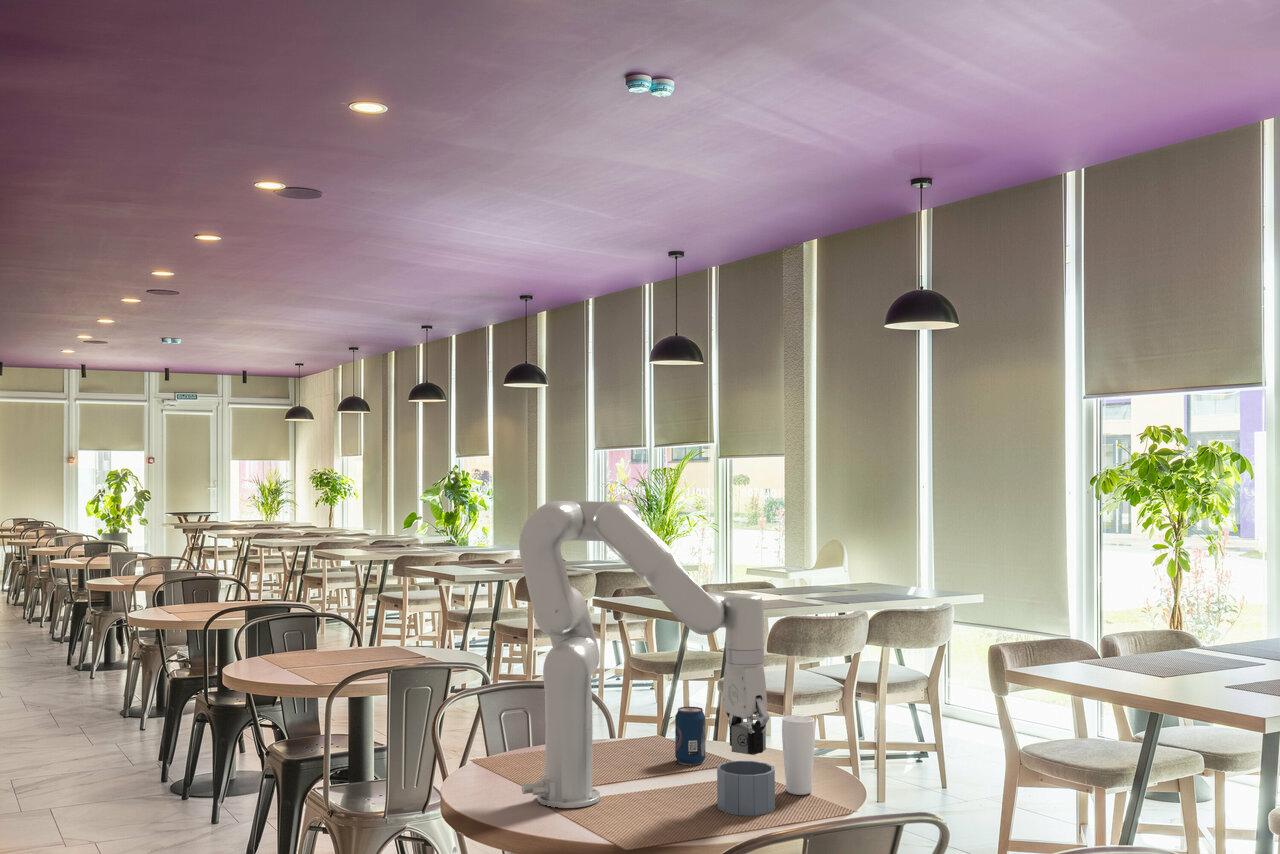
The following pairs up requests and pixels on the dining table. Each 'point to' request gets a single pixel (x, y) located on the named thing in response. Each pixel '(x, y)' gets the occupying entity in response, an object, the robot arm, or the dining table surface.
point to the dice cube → (743, 738)
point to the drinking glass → (798, 753)
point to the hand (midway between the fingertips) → (746, 748)
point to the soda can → (690, 736)
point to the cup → (746, 788)
